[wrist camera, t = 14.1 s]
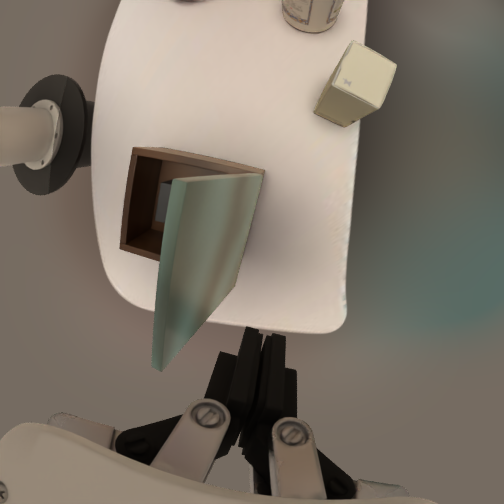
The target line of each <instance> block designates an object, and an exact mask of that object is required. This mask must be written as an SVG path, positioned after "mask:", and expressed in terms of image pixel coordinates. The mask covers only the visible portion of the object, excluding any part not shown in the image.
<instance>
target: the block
mask: <svg viewBox="0 0 504 504" xmlns="http://www.w3.org/2000/svg"><path fill="white" fill-rule="evenodd" d="M172 181H173V180H169V181H165V182H161V186H160V192H159V197H158V204H157V210H156V216H155V221H159V222H162V223H165V221H166V214H167V208H168V203H169V197H170V191H171V186H172Z"/></svg>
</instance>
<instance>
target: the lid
mask: <svg viewBox="0 0 504 504" xmlns="http://www.w3.org/2000/svg"><path fill="white" fill-rule="evenodd" d="M262 180H263V175H262V174H258V173H246V174H227V175H212V176H198V177H187V178H176V179H173V181H172V186H171V191H170V197H169V203H168V208H167V214H166V221H165V227H164V234H163V241H162V248H161V256H160V264H159V272H158V281H157V291H156V301H155V313H154V327H153V345H152V367H153V368H155V369H157V370H159V371H161V372H162V371H163V369H164V368H165V367H166V366H167V365H168V364H169V363H170V361H171V360H172V359H173V358H174V357H175V356H176V355H177V353H178V352H179V351H180V350H181V348H182V347H183V346H184V345H185V344H186V343H187V342H188V341H189V339H190V338H191V337H192V336H193V335H194V334H195V332H196V331H197V330H198V329H199V328H200V327H201V325H202V324H203V323H204V322H205V321H206V320H207V318H208V317H209V316H210V315H211V314H212V313H213V311H214V310H215V309H216V308H217V307H218V305H219V304H220V303H221V302H222V301H223V300H224V298H225V297H226V296H227V295H228V294H229V293H230V291H231V290H232V289H233V288H234V287H235V284H236V280H237V276H238V273H239V269H240V265H241V261H242V257H243V253H244V249H245V245H246V241H247V238H248V234H249V230H250V226H251V222H252V218H253V214H254V211H255V207H256V203H257V199H258V195H259V191H260V188H261V184H262Z"/></svg>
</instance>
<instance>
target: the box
mask: <svg viewBox="0 0 504 504" xmlns="http://www.w3.org/2000/svg"><path fill="white" fill-rule="evenodd" d="M396 67H397V65H396V64H395V63H393V62H392V61H390V60H388V59H387V58H385V57H384V56H382V55H380V54H378V53H377V52H375V51H373V50H372V49H370V48H368V47H366V46H364V45H362V44H360V43H358V42H356V41H351V43H350V44H349V46H348V47H347V49H346V51H345V52H344V54H343V56H342V58H341V59H340V61H339V63H338V65H337V66H336V68H335V70H334V72H333V73H332V75H331V77H330V79H329V81H328V82H327V84H326V86H325V88H324V90H323V92H322V94H321V97H320V99H319V101H318V103H317V105H316V108H315V110H314V113H315V114H317V115H319V116H321V117H323V118H325V119H328V120H330V121H332V122H334V123H336V124H338V125H340V126H342V127H347V126H348V125H350V124H352V123H354V122H355V121H357V120H359V119H361V118H362V117H364V116H366V115H368V114H370V113H372V112H374V111H376V110H378V109H379V108H380V107H381V105H382V103H383V101H384V99H385V96H386V94H387V92H388V89H389V87H390V84H391V82H392V79H393V76H394V73H395V70H396Z"/></svg>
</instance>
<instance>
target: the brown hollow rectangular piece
mask: <svg viewBox="0 0 504 504" xmlns="http://www.w3.org/2000/svg"><path fill="white" fill-rule="evenodd" d="M246 173H258V174H262V175H263V176H264V173H265V170H263V169H259V168H255V167H251V166H247V165H243V164H239V163H235V162H230V161H226V160H222V159H217V158H213V157H208V156H203V155H199V154H194V153H189V152H184V151H178V150H173V149H168V148H161V147H133V149H132V155H131V160H130V166H129V172H128V178H127V185H126V192H125V199H124V208H123V216H122V226H121V238H120V249H121V250H124V251H127V252H131V253H134V254H137V255H140V256H143V257H146V258H150V259H153V260H156V261H159V262H160V256H161V248H162V241H163V234H164V227H165V223H162V222H159V221H155V216H156V210H157V204H158V197H159V192H160V186H161V182H165V181H169V180H173V179H176V178H187V177H198V176H212V175H227V174H246ZM259 192H260V191H259ZM253 215H254V214H253ZM246 242H247V241H246Z"/></svg>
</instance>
